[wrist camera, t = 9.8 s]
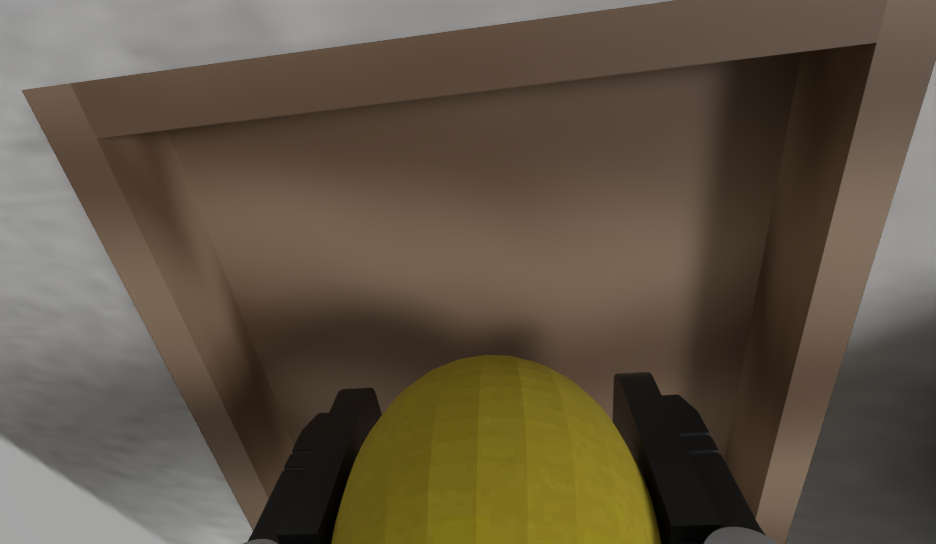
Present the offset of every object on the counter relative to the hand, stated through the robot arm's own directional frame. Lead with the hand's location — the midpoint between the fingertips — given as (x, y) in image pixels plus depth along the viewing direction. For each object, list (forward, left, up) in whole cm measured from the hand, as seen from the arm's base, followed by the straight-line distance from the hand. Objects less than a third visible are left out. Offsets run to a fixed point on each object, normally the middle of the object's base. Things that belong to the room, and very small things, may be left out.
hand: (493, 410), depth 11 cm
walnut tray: (0, 0, -4) cm, 4 cm away
